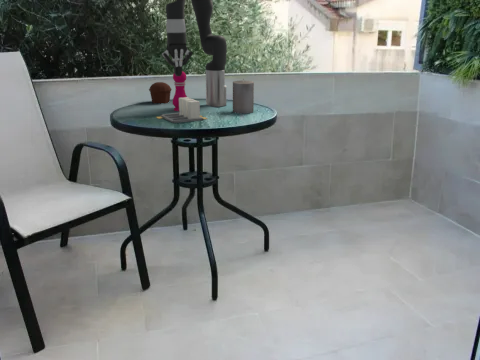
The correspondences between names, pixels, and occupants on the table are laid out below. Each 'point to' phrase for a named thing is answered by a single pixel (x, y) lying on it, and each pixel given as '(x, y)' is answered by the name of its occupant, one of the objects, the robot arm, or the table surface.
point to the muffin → (160, 92)
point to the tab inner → (181, 105)
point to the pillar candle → (243, 96)
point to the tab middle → (186, 106)
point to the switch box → (179, 118)
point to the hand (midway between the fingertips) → (178, 75)
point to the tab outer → (193, 109)
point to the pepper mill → (179, 89)
